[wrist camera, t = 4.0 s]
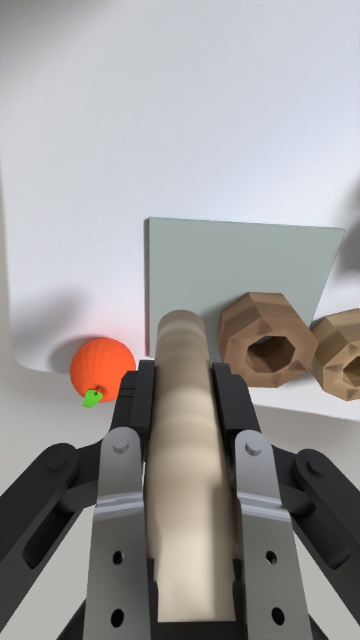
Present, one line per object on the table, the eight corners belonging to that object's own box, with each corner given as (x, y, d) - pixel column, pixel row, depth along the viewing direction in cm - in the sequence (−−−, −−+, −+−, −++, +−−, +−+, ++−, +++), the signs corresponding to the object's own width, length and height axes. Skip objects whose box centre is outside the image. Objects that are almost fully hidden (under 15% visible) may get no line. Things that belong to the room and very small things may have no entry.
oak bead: (302, 321, 31) (322, 348, 27) (382, 302, 30) (416, 327, 26) (305, 375, 35) (323, 405, 31) (375, 360, 34) (404, 389, 30)
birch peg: (157, 308, 15) (127, 618, 5) (206, 310, 16) (267, 617, 5) (157, 347, 17) (132, 645, 7) (201, 348, 17) (241, 644, 7)
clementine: (121, 384, 36) (110, 431, 30) (69, 363, 34) (46, 409, 28) (149, 341, 32) (143, 385, 26) (93, 316, 30) (73, 357, 24)
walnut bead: (224, 290, 28) (232, 315, 24) (305, 294, 28) (328, 319, 24) (213, 355, 33) (219, 386, 28) (284, 358, 33) (300, 388, 29)
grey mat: (149, 217, 25) (149, 218, 24) (342, 228, 26) (345, 229, 25) (149, 354, 33) (149, 357, 33) (294, 359, 34) (296, 363, 33)
